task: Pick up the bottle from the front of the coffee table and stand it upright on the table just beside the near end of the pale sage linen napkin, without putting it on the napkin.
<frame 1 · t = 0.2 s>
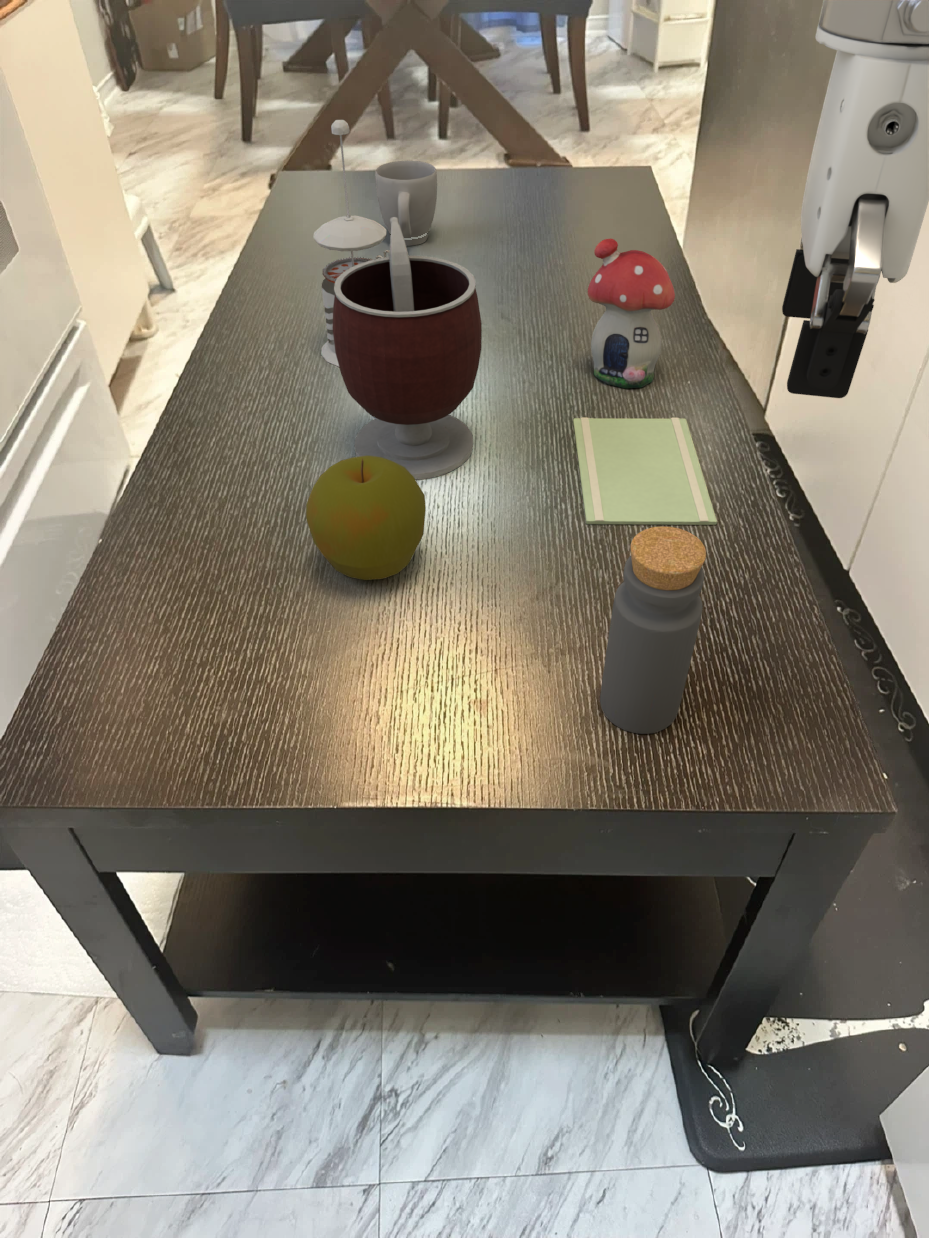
hand: (811, 352, 52), 25 cm above the table, tool pointing down, fingers open, 9 cm apart
mug: (408, 244, 132), on the table
french press: (367, 352, 107), on the table
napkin: (639, 469, 88), on the table
apple: (372, 564, 78), on the table
bottle: (638, 706, 66), on the table
mate gourd: (413, 443, 93), on the table
decorative ornament: (620, 376, 102), on the table
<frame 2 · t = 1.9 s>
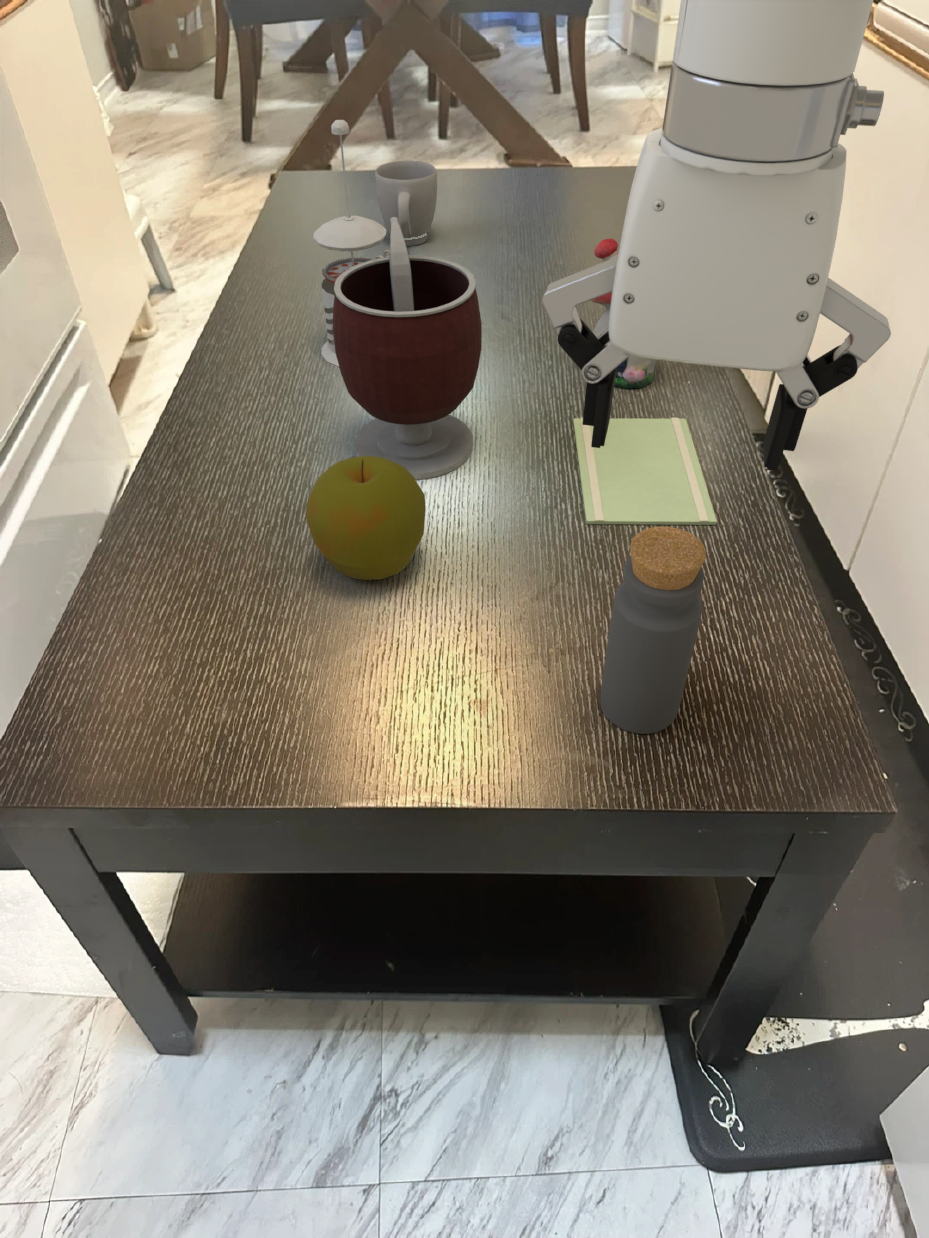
hand: (683, 446, 51), 22 cm above the table, tool pointing down, fingers open, 9 cm apart
nothing on the table moved.
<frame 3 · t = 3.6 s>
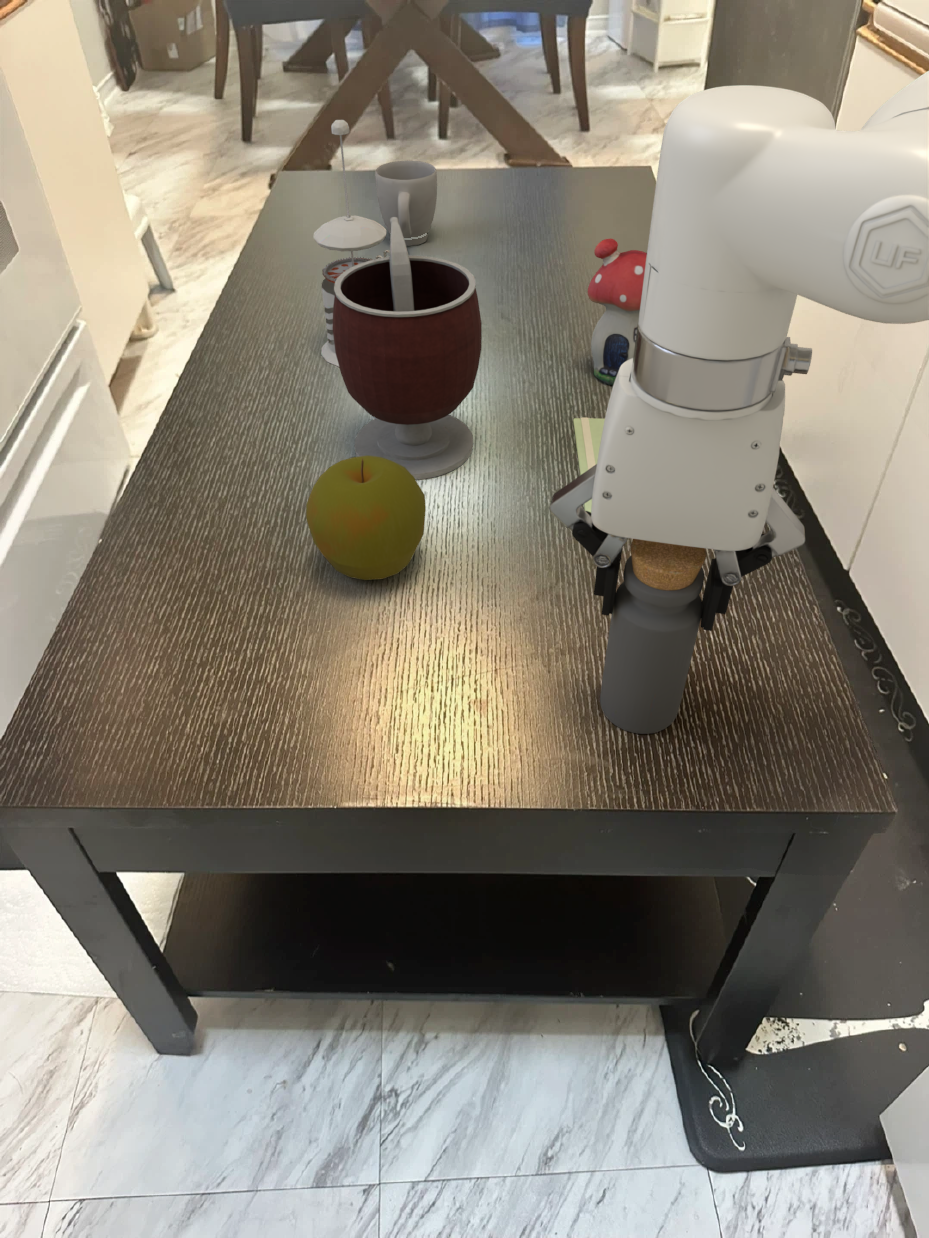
hand: (657, 606, 59), 10 cm above the table, tool pointing down, fingers closed on bottle, 5 cm apart
bottle: (638, 706, 66), on the table, touching gripper
everything else where it was.
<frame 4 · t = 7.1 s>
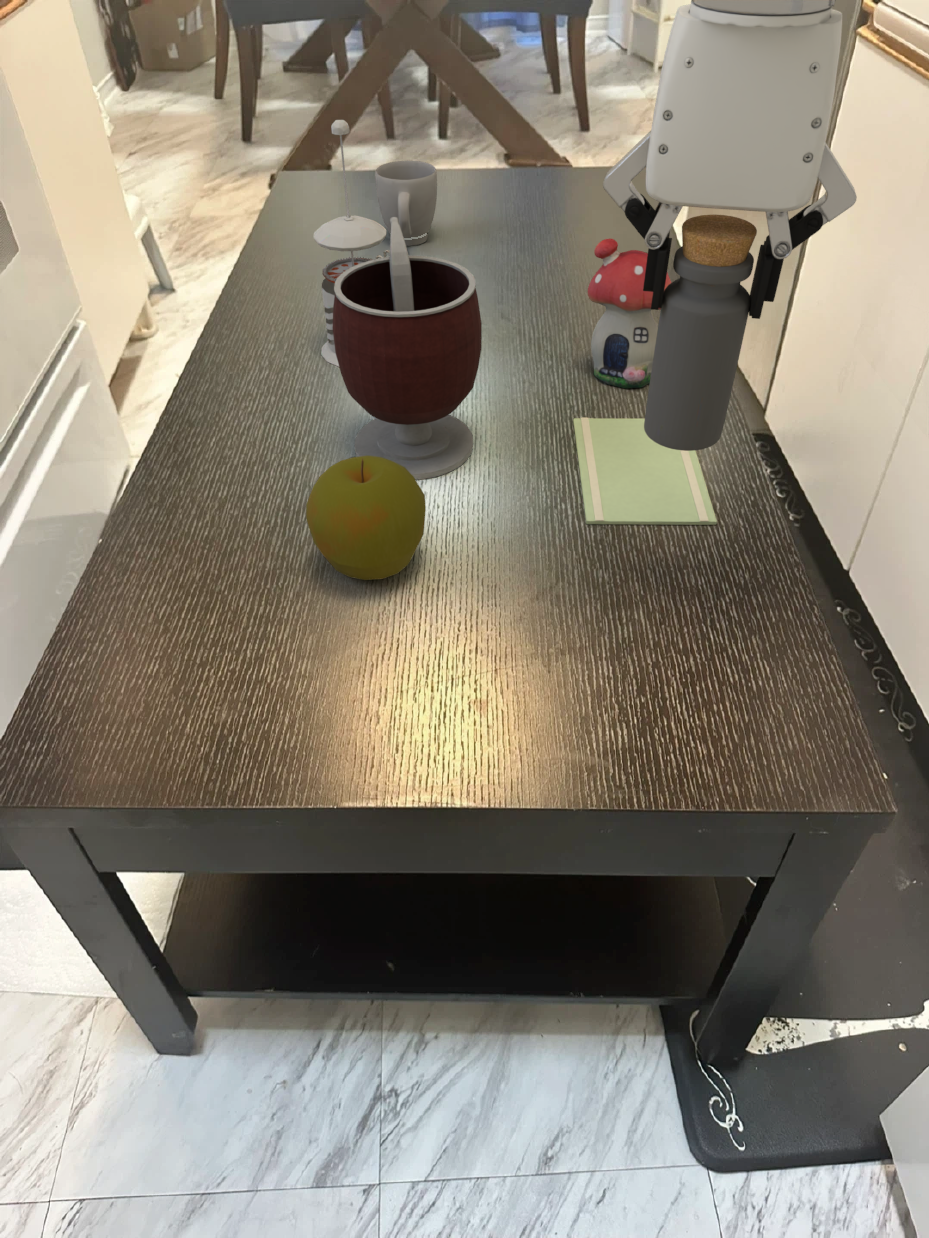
hand: (705, 303, 60), 24 cm above the table, tool pointing down, fingers closed on bottle, 5 cm apart
bottle: (681, 432, 67), point 14 cm above the table, touching gripper
everything else where it was.
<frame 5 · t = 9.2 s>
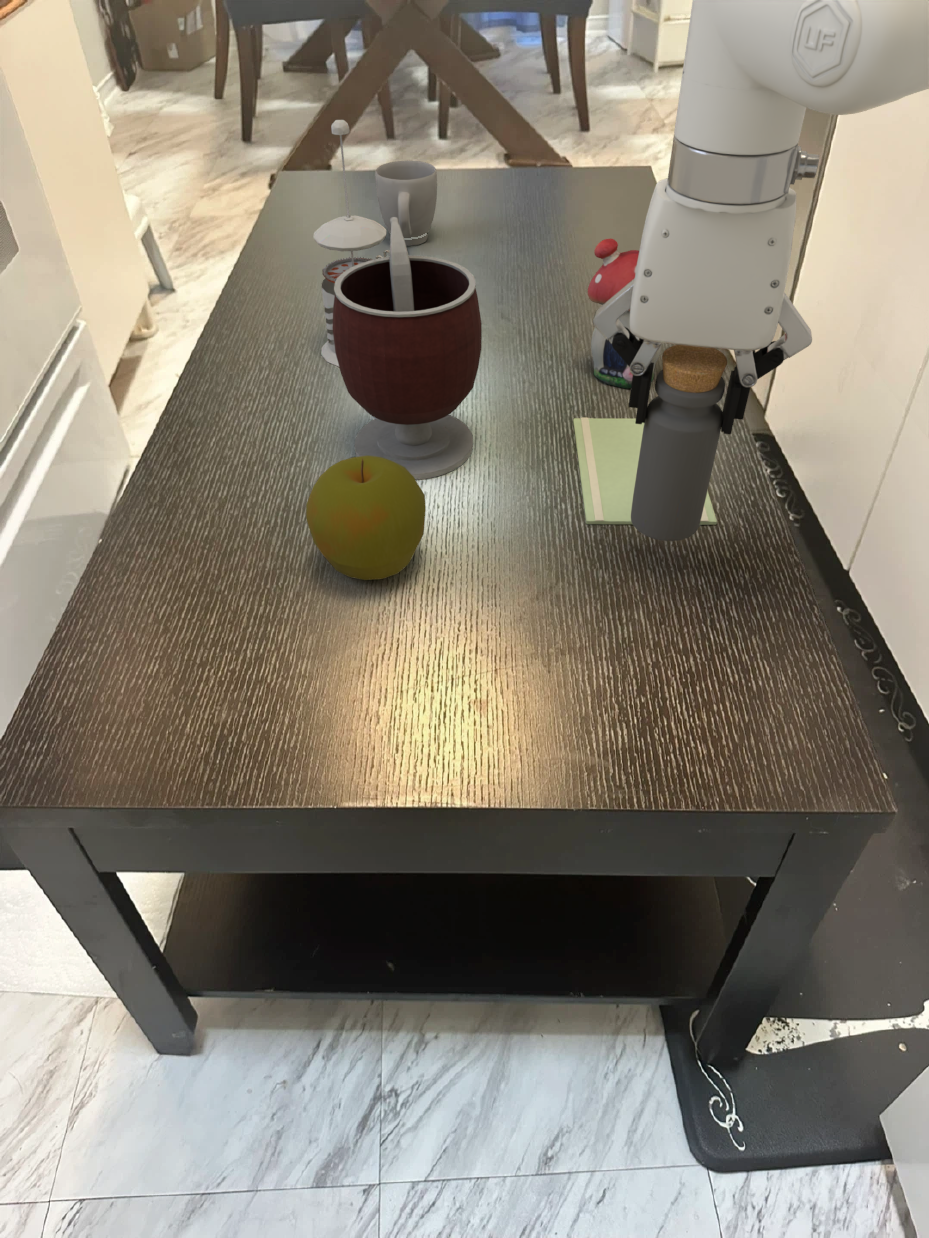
hand: (683, 418, 68), 14 cm above the table, tool pointing down, fingers closed on bottle, 5 cm apart
bottle: (664, 522, 75), point 4 cm above the table, touching gripper
everything else where it was.
when the fingers open (10 cm above the table, at t = 10.7 s): bottle stays where it is, on the table.
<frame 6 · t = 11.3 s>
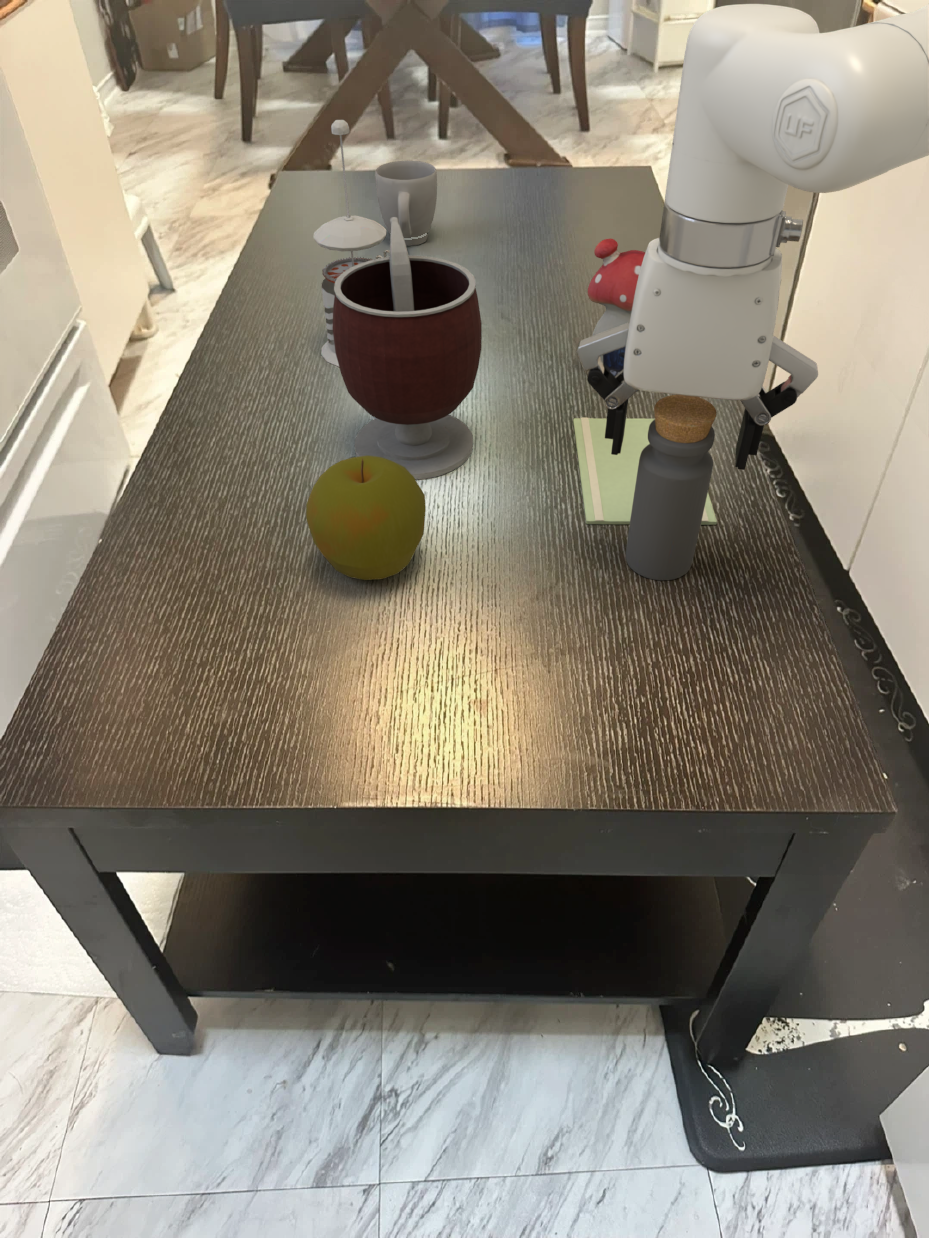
hand: (677, 452, 70), 11 cm above the table, tool pointing down, fingers open, 9 cm apart
bottle: (658, 561, 78), on the table
everything else where it was.
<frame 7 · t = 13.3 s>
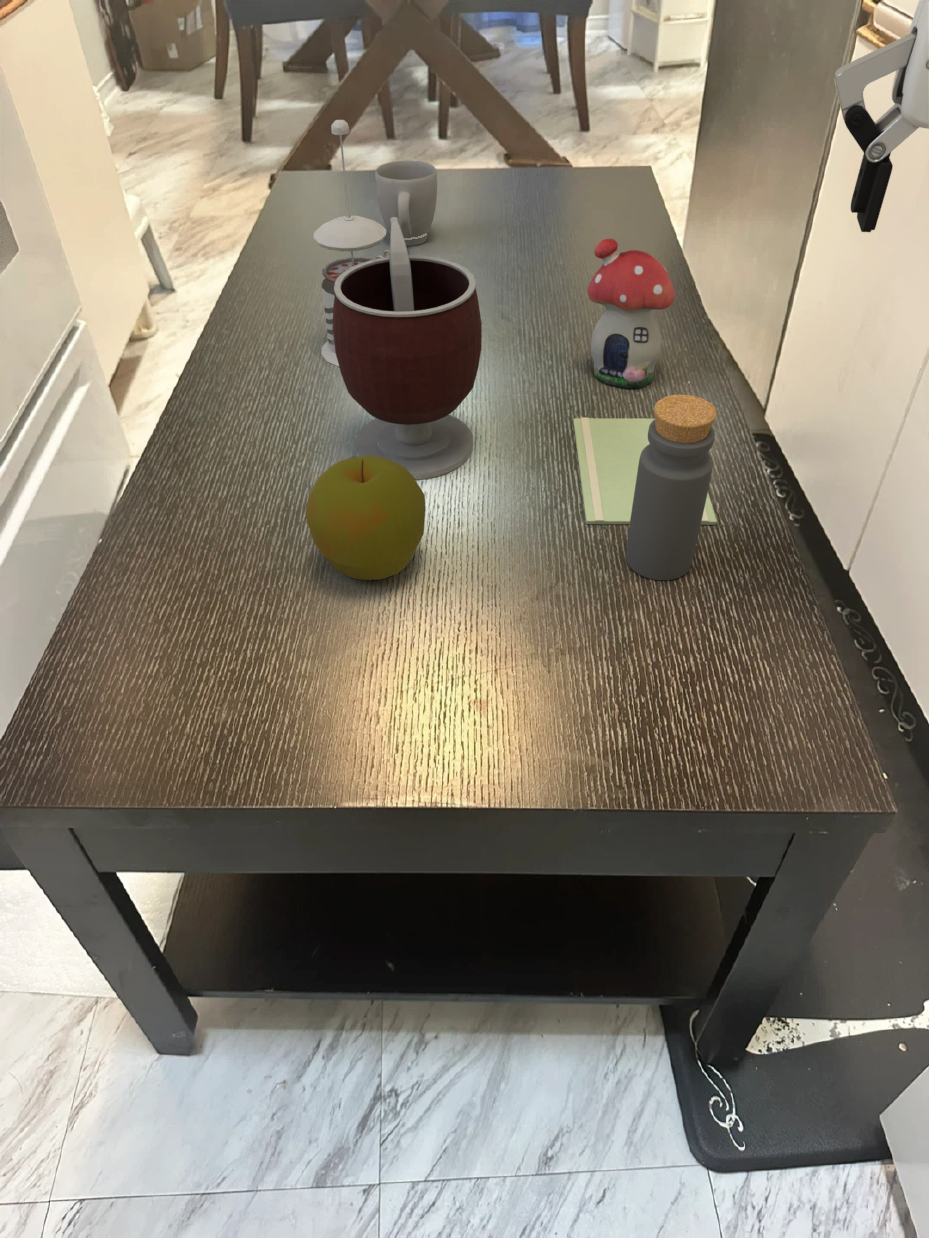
nothing on the table moved.
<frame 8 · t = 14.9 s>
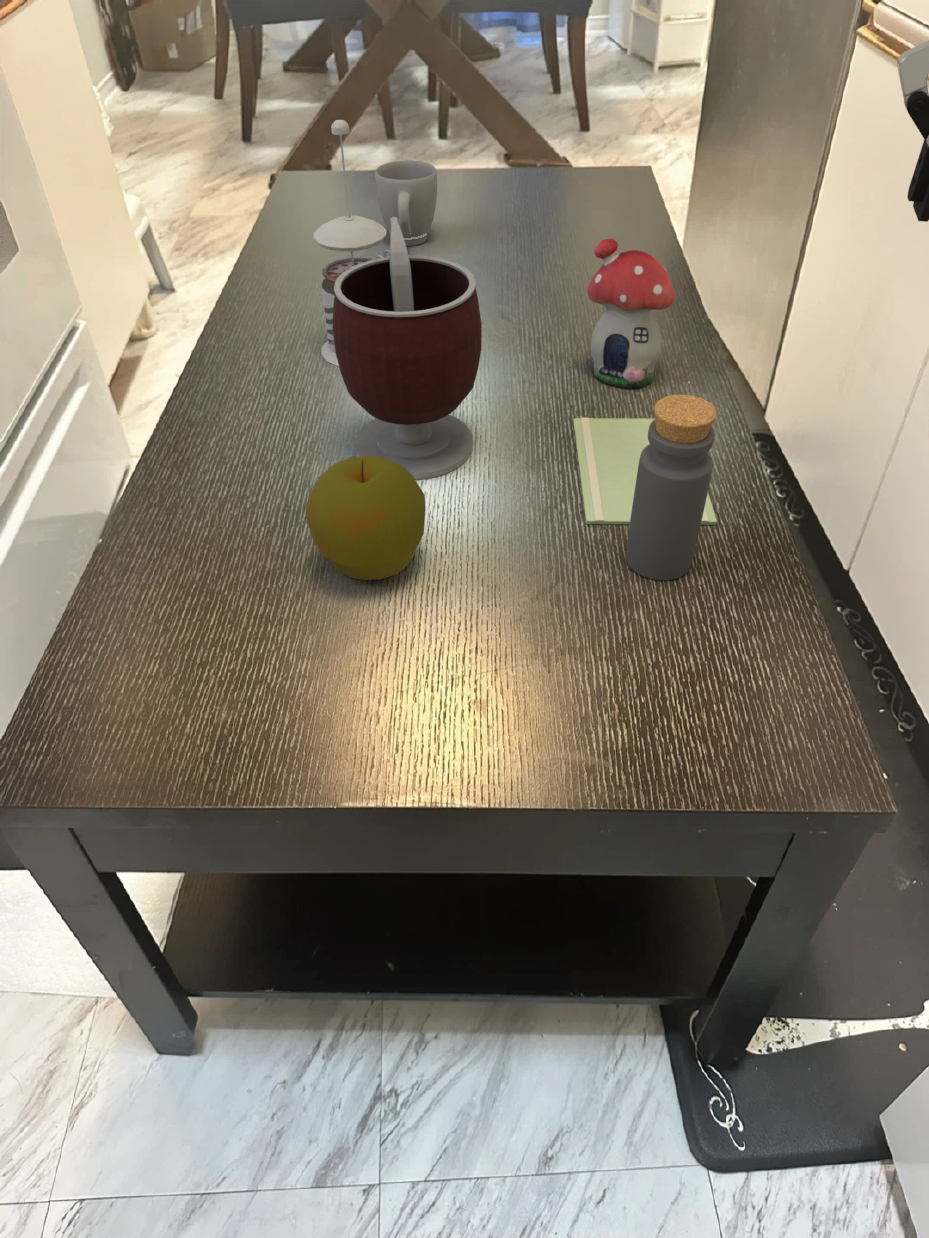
nothing on the table moved.
at the end: bottle inside the target area on the table beside the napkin (0.1 cm from its centre), on the table; bottle tilted 0°; the gripper is holding nothing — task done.
